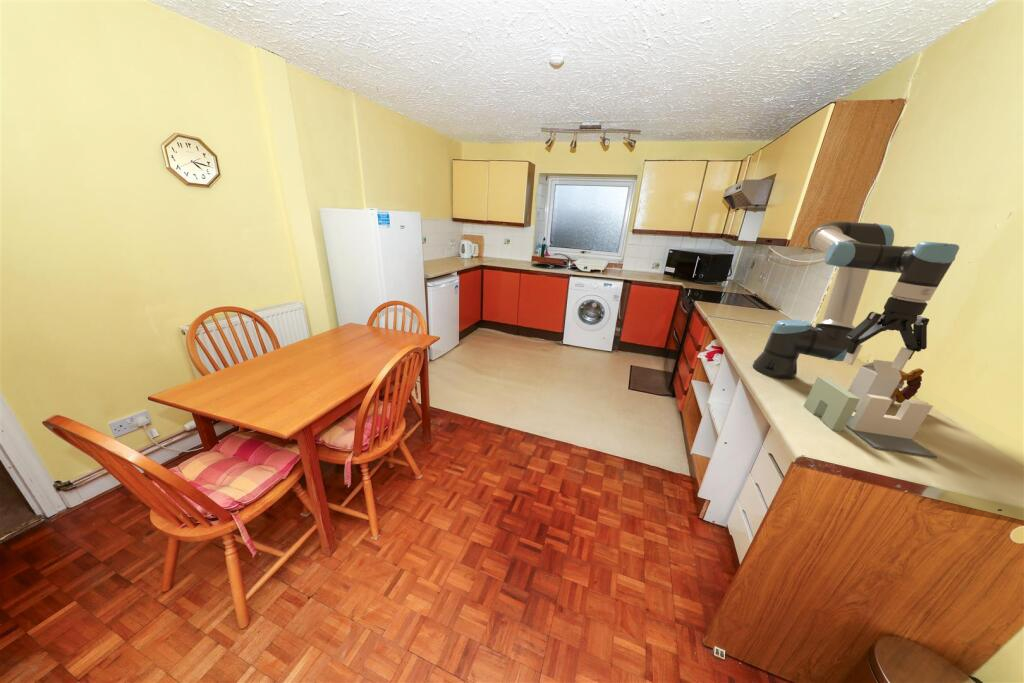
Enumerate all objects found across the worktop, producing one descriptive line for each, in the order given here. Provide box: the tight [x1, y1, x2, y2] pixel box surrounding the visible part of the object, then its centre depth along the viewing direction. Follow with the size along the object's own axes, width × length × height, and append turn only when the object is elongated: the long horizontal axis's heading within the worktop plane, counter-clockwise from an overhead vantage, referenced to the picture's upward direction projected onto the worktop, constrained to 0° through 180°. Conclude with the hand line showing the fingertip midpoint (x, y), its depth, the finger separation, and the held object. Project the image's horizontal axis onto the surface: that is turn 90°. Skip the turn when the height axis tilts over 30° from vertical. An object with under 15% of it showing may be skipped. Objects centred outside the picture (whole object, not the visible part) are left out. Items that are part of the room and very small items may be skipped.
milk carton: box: [847, 359, 902, 413], centre depth 114 cm, size 7×7×19 cm
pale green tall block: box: [803, 376, 860, 432], centre depth 107 cm, size 14×3×12 cm, turn 170°
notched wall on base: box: [845, 394, 939, 459], centre depth 100 cm, size 16×18×13 cm
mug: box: [889, 367, 925, 407], centre depth 122 cm, size 11×16×15 cm, turn 71°
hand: (871, 365), depth 100 cm, fingers open, 13 cm apart
